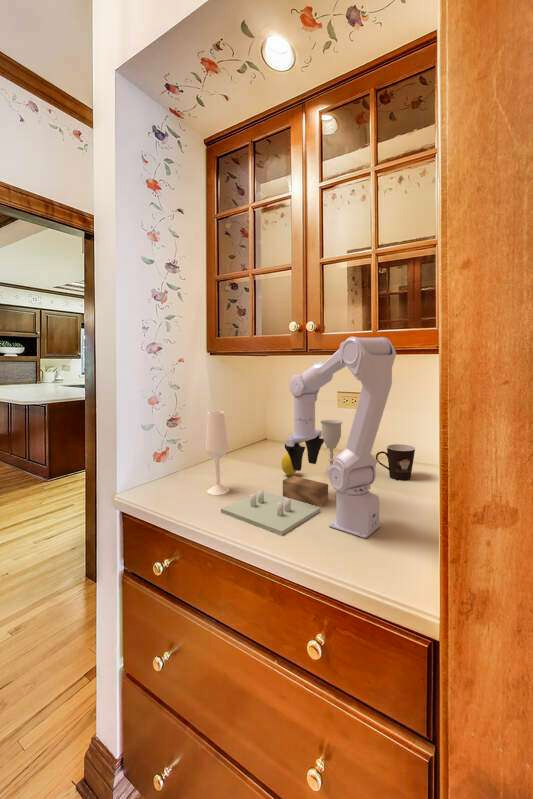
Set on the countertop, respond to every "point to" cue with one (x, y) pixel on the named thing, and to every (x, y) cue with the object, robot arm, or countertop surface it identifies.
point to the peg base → (271, 511)
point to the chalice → (331, 437)
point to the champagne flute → (216, 445)
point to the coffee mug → (399, 461)
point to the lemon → (287, 465)
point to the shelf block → (305, 490)
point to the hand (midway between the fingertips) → (304, 466)
